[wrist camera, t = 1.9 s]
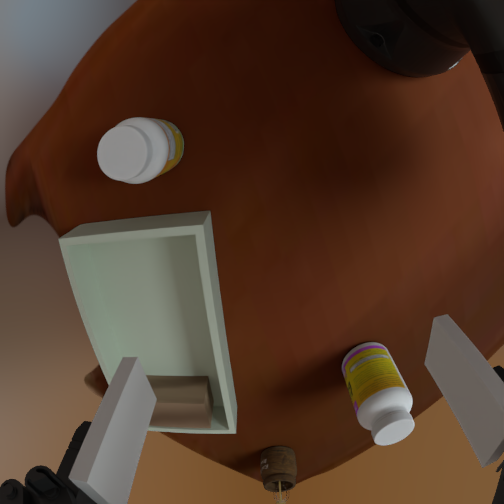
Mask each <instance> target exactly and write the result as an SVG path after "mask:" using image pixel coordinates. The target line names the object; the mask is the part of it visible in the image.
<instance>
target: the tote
mask: <svg viewBox="0 0 504 504" xmlns="http://www.w3.org/2000/svg"><path fill="white" fill-rule="evenodd" d="M58 240H59V244H60V248H61V252H62V256H63V259H64V263H65V267H66V270H67V274H68V277H69V280H70V284H71V287H72V290H73V294H74V297H75V300H76V303H77V306H78V309H79V312H80V315H81V318H82V320H83V323H84V326H85V329H86V331H87V334H88V337H89V339H90V342H91V345H92V347H93V349H94V352H95V355H96V357H97V359H98V362H99V364H100V366H101V369H102V371H103V373H104V376H105V378H106V380H107V382H108V385H110V382H111V380H112V378H113V376H114V374H115V372H116V370H117V368H118V366H119V364H120V362H121V360H122V358H123V357H138V358H139V361H140V363H141V365H142V368H143V370H144V372H145V374H146V375H159V376H208V377H209V382H210V386H211V391H212V395H213V400H214V404H213V412H212V421H211V428H179V427H161V426H149V427H148V430H149V431H162V432H178V433H209V434H229V433H236V421H237V403H236V397H235V391H234V384H233V378H232V371H231V365H230V358H229V352H228V345H227V338H226V331H225V324H224V317H223V309H222V302H221V295H220V287H219V279H218V271H217V263H216V255H215V247H214V239H213V230H212V221H211V212H210V211H199V212H188V213H178V214H167V215H157V216H148V217H138V218H129V219H120V220H112V221H103V222H95V223H87V224H81V225H79V226H77V227H76V228H74V229H73V230H71V231H70V232H68V233H67V234H65V235H64V236H62V237H60V238H59V239H58Z"/></svg>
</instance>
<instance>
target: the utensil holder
mask: <svg viewBox="0 0 504 504" xmlns="http://www.w3.org/2000/svg"><path fill="white" fill-rule="evenodd" d="M296 474H297V467H296V458H295V453H294V451H293V450H292V449H291V448H289V447H285V446H274V447H270V448H268V449H266V450H264V451H263V452H262V454H261V476H262V479H263V480H264V481H263V485H264V488H265V489H266V490H268V491H271V492H279V496H280V500H279V501H278V502H276V504H286V502H285V501H283V500H282V493H281V492H283V491H287V490H290V489H292V488H294V487H295V485H296V479H295V477H296ZM286 496H287V495H286Z"/></svg>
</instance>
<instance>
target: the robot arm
mask: <svg viewBox="0 0 504 504" xmlns="http://www.w3.org/2000/svg"><path fill="white" fill-rule="evenodd" d="M335 5H336V10H337V13H338V16H339V19H340V21H341V23H342V25H343V27H344V29H345V31H346V32H347V34H348V35H349V37H350V38H351V39H352V41H353V42H354V43H355V44H356V45H357V46H358V48H359V49H360V50H361V51H363V52H364V53H365V54H366V55H367V56H368V57H369V58H371V59H372V60H373V61H375V62H376V63H378V64H379V65H381V66H383V67H384V68H386V69H388V70H390V71H393V72H395V73H398V74H401V75H405V76H410V77H428V76H432V75H437V74H441V73H444V72H446V71H448V70H450V69H452V68H453V67H454V66H456V65H457V64H458V63H459V61H460V60H461V59H462V57H463V56H464V55H466V54H467V53H468V52H469V51H470V50H471V51H472V53H473V55H474V57H475V59H476V61H477V64H478V66H479V68H480V71H481V73H482V75H483V78H484V80H485V82H486V84H487V87H488V89H489V92H490V94H491V97H492V99H493V102H494V104H495V107H496V110H497V113H498V116H499V119H500V122H501V125H502V128H503V131H504V0H335ZM425 365H426V367H427V369H428V370H429V372H430V374H431V375H432V377H433V379H434V380H435V382H436V384H437V385H438V387H439V389H440V390H441V392H442V394H443V396H444V397H445V399H446V401H447V402H448V404H449V406H450V408H451V409H452V411H453V413H454V415H455V417H456V418H457V420H458V422H459V424H460V426H461V428H462V429H463V431H464V433H465V435H466V437H467V439H468V440H469V443H470V444H471V446H472V448H473V450H474V452H475V454H476V456H477V458H478V460H479V462H480V464H481V466H482V468H483V467H485V466H487V465H489V464H491V463H493V462H495V461H497V460H498V459H499V457H500V456H501V455H502V453H503V452H504V369H503V368H502V367H500V366H496V367H494V368H492V367H491V366H490V364H489V363H488V362H487V361H486V359H485V358H484V357H483V356H482V354H481V353H480V352H479V351H478V349H477V348H476V347H475V346H474V345H473V343H472V342H471V341H470V340H469V339H468V337H467V336H466V335H465V334H464V333H463V331H462V330H461V329H460V328H459V327H458V326H457V325H456V323H455V322H454V321H453V320H452V319H451V318H450V317H449V315H448V314H447V315H443V316H439V317H435V318H434V320H433V325H432V331H431V336H430V341H429V346H428V350H427V355H426V359H425ZM156 400H157V398H156V396H155V394H154V392H153V390H152V388H151V385H150V383H149V381H148V379H147V377H146V374H145V372H144V370H143V368H142V365H141V363H140V361H139V358H138V357H123V358H122V360H121V362H120V364H119V366H118V368H117V370H116V372H115V374H114V376H113V378H112V380H111V382H110V385H109V387H108V389H107V391H106V393H105V395H104V397H103V399H102V401H101V404H100V406H99V408H98V410H97V412H96V414H95V417H94V419H93V421H92V422H88V421H84V422H83V423H82V424H81V426H79V427H78V428H77V429H76V431H75V433H74V435H73V438H72V441H71V442H70V444H69V446H68V448H69V449H67V451H66V453H65V455H64V457H63V460H62V462H61V464H60V466H59V469H58V471H57V474H55V473H54V472H52V471H51V469H49V468H48V467H46V466H36V467H34V468H32V469H30V471H29V472H28V473H27V474H26V477H25V486H23V485H22V484H21V483H20V482H19V481H17V480H15V479H9V480H6V481H5V482H4V483H3V484H2V485H1V487H0V504H127V502H128V498H129V494H130V491H131V487H132V483H133V480H134V475H135V472H136V469H137V465H138V461H139V458H140V454H141V451H142V447H143V444H144V440H145V437H146V433H147V430H148V427H149V423H150V420H151V417H152V413H153V410H154V407H155V404H156ZM501 468H502V471H501V475H500V479H499V482H498V486H497V489H496V493H495V496H494V499H493V502H492V504H504V460H503V462H502V463H501V464H500V466H499V467H498V468H497V471H496V472H499V471H500V469H501Z"/></svg>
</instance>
